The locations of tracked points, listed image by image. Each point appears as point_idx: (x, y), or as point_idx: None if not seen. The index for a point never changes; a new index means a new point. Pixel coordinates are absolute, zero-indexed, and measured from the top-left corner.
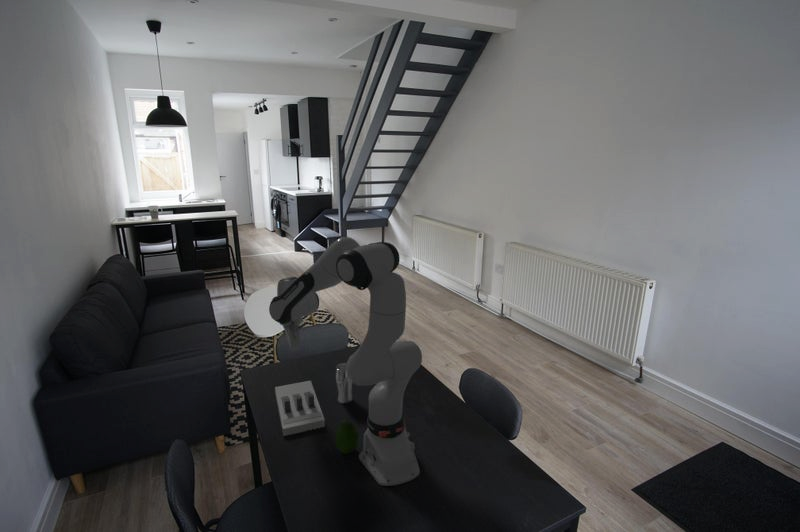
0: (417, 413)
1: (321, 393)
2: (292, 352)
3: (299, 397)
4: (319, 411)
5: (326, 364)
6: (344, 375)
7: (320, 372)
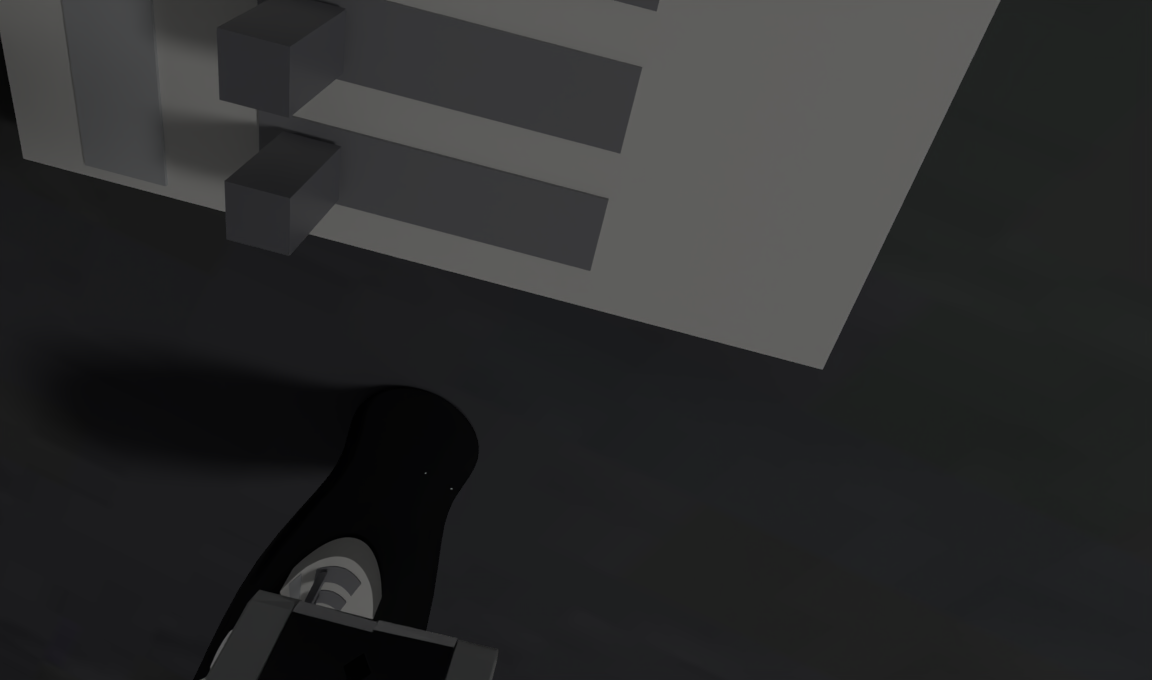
0: (81, 631)
1: (625, 343)
2: (265, 596)
3: (253, 80)
4: (178, 180)
5: (1106, 604)
6: (210, 643)
7: (1010, 504)
